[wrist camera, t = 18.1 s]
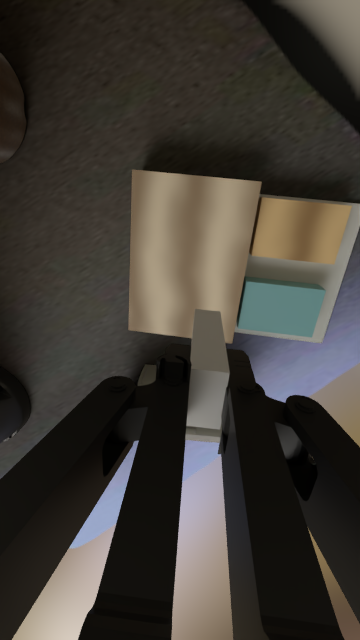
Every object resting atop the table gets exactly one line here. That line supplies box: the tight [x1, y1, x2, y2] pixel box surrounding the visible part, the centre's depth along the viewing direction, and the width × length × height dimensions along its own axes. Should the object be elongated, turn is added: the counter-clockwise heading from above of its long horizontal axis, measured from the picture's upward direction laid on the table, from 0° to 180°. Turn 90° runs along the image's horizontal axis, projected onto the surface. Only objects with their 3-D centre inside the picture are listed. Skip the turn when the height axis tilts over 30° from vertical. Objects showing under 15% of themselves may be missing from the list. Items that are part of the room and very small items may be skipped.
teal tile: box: [236, 276, 326, 338], centre depth 35 cm, size 9×6×2 cm, turn 85°
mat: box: [234, 194, 360, 343], centre depth 35 cm, size 12×17×1 cm
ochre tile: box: [249, 197, 352, 265], centre depth 32 cm, size 9×6×2 cm, turn 85°
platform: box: [129, 170, 262, 343], centre depth 34 cm, size 13×18×4 cm
